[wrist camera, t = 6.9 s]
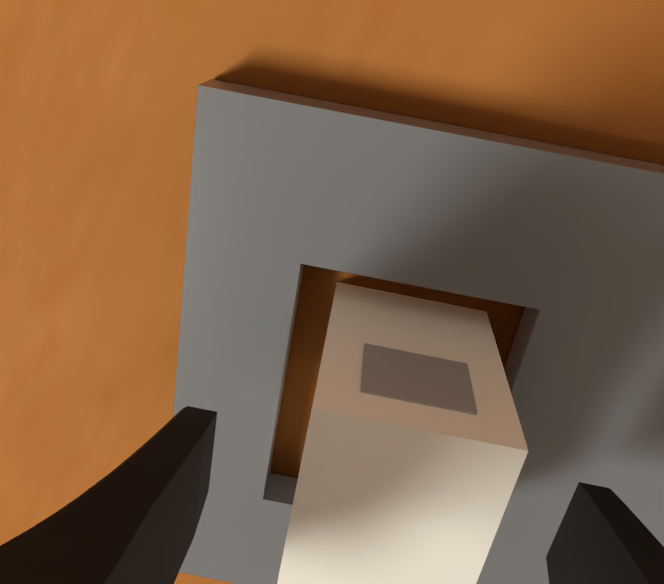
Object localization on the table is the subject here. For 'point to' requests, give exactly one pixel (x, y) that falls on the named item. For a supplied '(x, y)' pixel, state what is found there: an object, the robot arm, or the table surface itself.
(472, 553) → the plug
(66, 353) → the table surface
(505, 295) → the jack panel
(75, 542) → the robot arm
